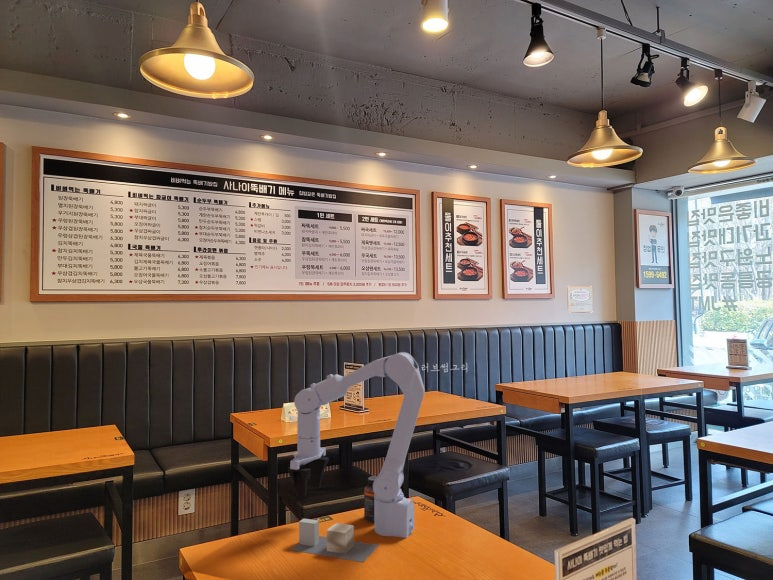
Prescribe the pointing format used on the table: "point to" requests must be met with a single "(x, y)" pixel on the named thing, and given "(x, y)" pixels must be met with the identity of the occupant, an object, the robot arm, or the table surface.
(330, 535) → the birch block
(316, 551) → the gray plate with post
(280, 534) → the table surface
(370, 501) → the supplement bottle
